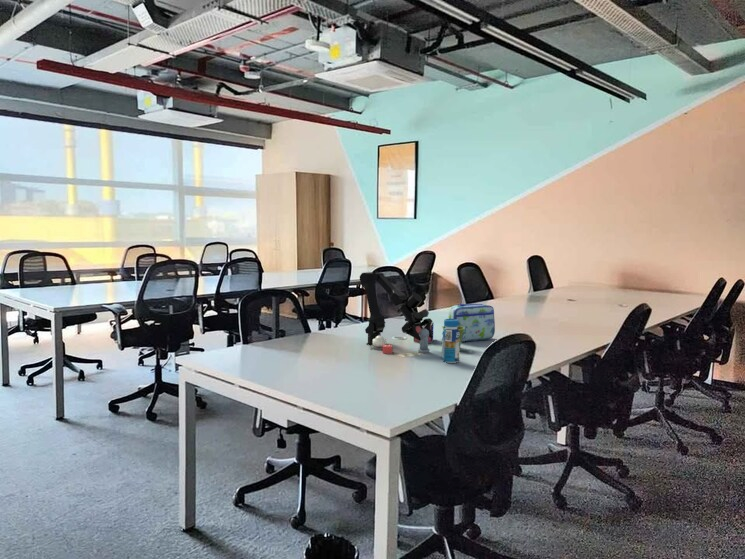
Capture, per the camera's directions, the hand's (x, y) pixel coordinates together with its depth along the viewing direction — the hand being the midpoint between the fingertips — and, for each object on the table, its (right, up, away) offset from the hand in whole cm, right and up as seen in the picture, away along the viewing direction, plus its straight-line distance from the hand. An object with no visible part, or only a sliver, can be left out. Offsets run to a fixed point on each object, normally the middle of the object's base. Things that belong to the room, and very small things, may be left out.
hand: (426, 338), depth 269 cm
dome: (-23, -4, +10) cm, 26 cm away
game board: (-6, -8, -2) cm, 10 cm away
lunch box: (+29, -5, +39) cm, 49 cm away
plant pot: (+16, -7, +17) cm, 24 cm away
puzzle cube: (+2, -5, +36) cm, 36 cm away
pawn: (-1, -7, +2) cm, 7 cm away
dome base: (-23, -7, +11) cm, 26 cm away
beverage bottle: (+10, -10, -12) cm, 18 cm away
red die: (-19, -8, +1) cm, 21 cm away
